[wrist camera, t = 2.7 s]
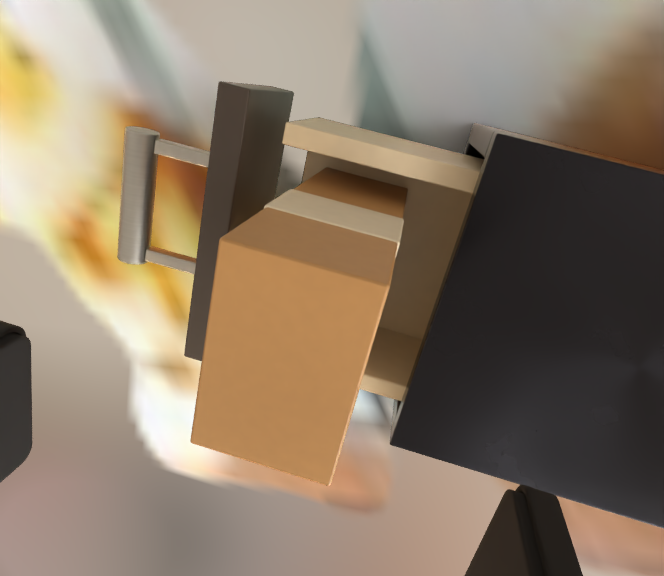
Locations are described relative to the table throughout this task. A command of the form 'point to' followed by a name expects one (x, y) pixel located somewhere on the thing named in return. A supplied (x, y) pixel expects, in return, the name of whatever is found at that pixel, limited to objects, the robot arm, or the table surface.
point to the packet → (297, 322)
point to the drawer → (323, 151)
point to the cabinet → (550, 329)
